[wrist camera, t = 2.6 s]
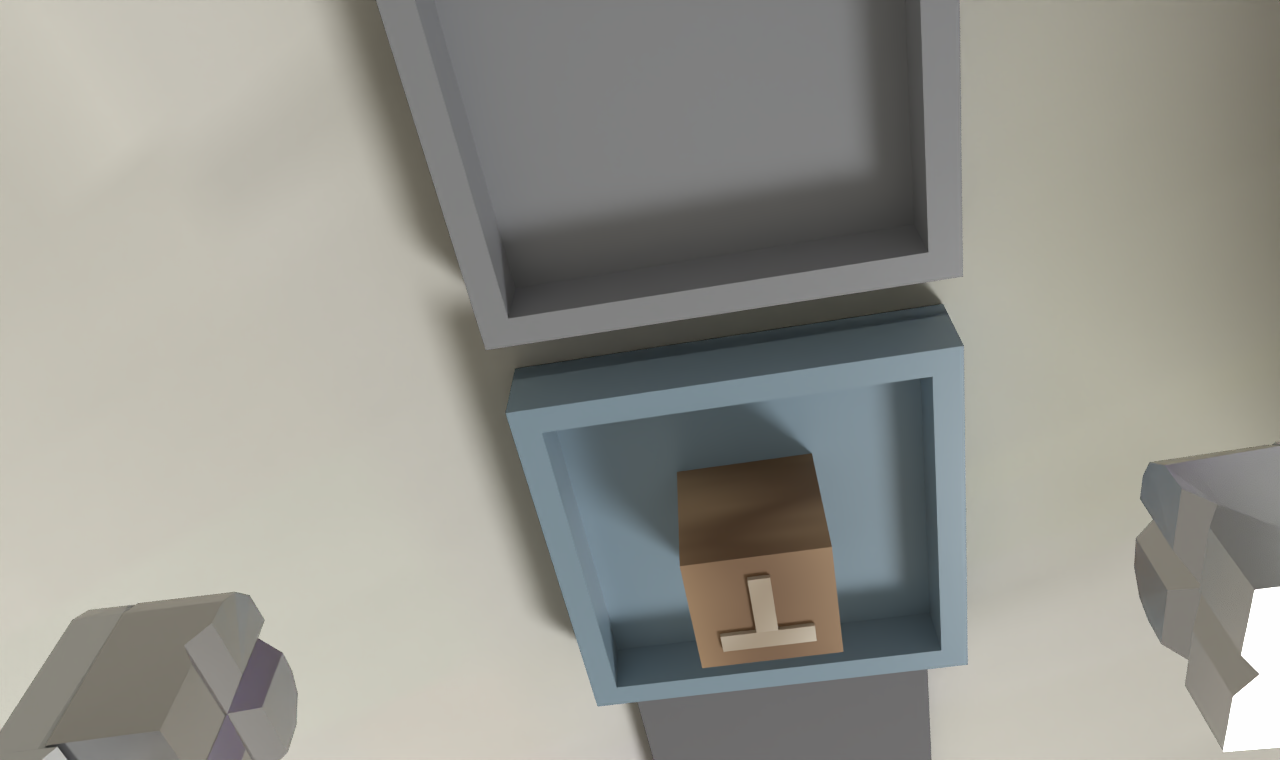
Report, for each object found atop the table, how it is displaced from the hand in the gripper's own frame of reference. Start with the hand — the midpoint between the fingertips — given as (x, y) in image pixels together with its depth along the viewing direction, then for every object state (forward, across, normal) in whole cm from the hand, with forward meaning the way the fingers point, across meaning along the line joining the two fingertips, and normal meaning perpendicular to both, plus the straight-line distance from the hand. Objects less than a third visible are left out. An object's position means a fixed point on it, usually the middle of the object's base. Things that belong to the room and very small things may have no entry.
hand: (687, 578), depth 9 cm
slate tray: (+18, 0, +14) cm, 22 cm away
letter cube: (+17, 0, +14) cm, 22 cm away
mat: (+18, 0, +26) cm, 31 cm away
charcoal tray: (+17, 0, 0) cm, 17 cm away
